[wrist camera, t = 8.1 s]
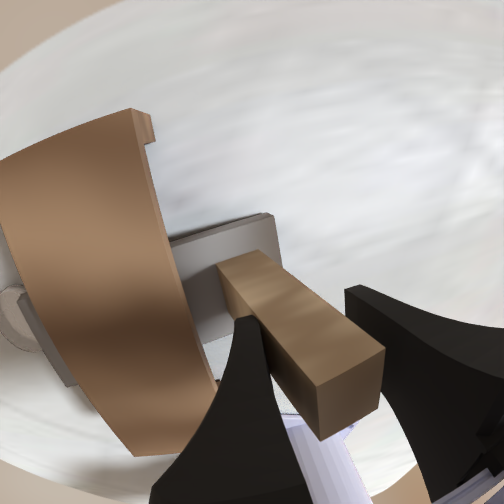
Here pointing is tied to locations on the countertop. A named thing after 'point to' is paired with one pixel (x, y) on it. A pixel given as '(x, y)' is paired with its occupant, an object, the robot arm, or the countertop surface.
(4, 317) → the silver flat dome
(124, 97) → the countertop surface
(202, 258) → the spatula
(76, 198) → the brown wooden bridge
